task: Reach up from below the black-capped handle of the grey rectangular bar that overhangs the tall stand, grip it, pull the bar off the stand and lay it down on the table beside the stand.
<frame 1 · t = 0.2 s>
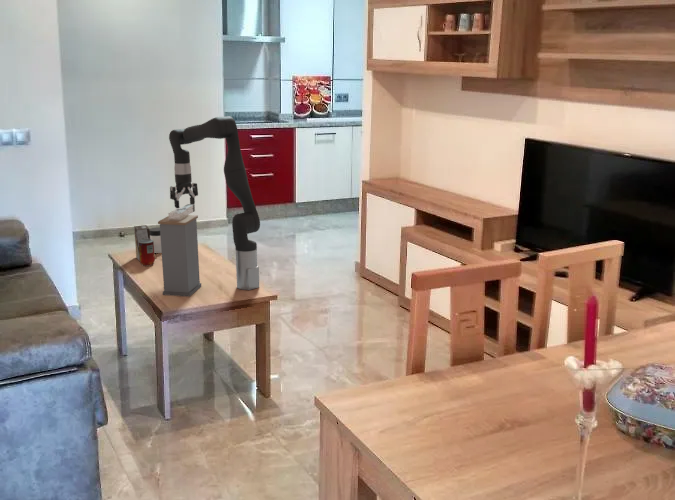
hand: (184, 206, 339), 29 cm above the table, tool pointing down, fingers open, 8 cm apart
stand: (182, 290, 312), on the table
coffee box: (143, 259, 360), on the table
grey rectangular bar: (178, 218, 303), point 32 cm above the table, touching stand
soda can: (147, 264, 351), on the table
jar: (158, 252, 372), on the table
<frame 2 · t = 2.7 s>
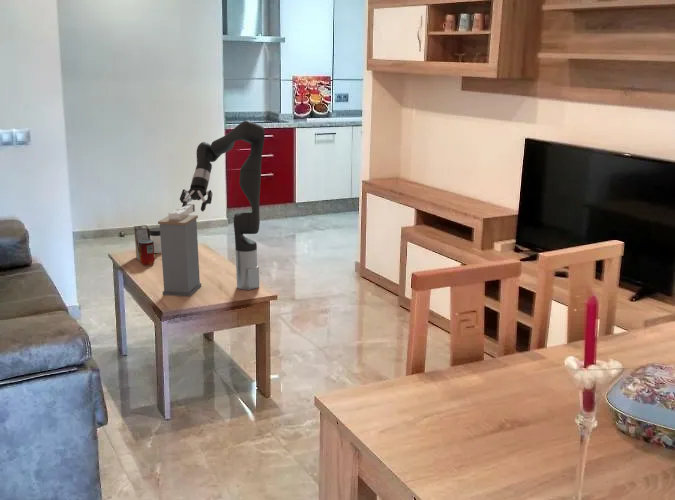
hand: (192, 210, 325), 31 cm above the table, tool tilted 45°, fingers open, 8 cm apart
nothing on the table moved.
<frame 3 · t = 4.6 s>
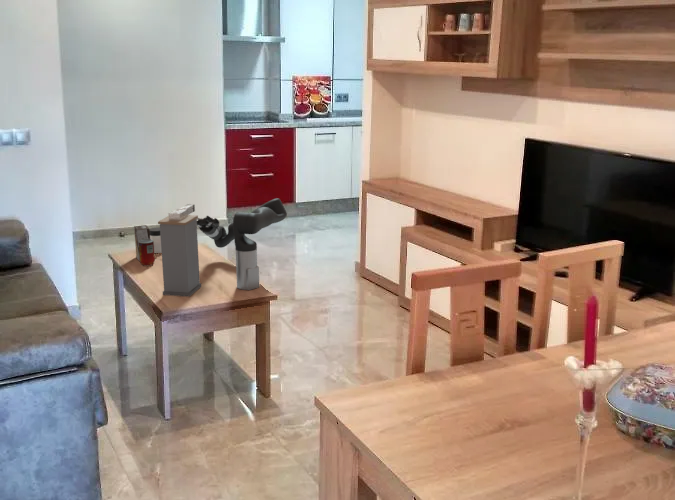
hand: (197, 217, 326), 27 cm above the table, tool pointing upward, fingers open, 8 cm apart
nothing on the table moved.
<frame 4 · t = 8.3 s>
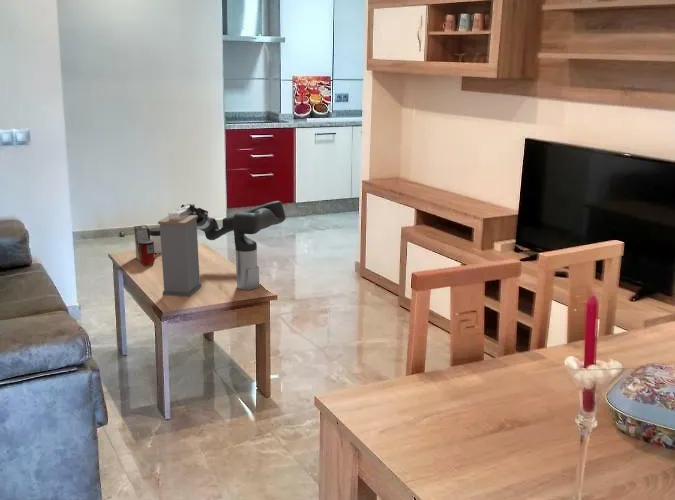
hand: (186, 207, 312), 35 cm above the table, tool pointing upward, fingers closed on grey rectangular bar, 3 cm apart
grey rectangular bar: (178, 218, 303), point 32 cm above the table, touching gripper, stand
everything else where it was.
when the fingers open (12 cm above the table, at t = 18.7 s): grey rectangular bar drops 5 cm, on the table.
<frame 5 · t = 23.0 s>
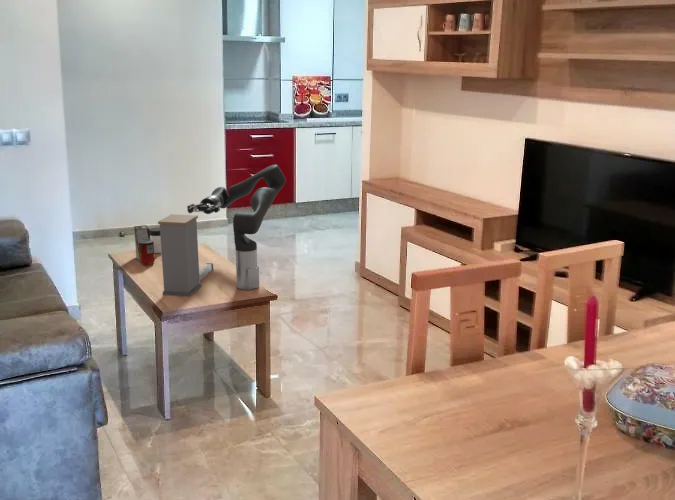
hand: (198, 211, 326), 30 cm above the table, tool horizontal, fingers open, 8 cm apart
grey rectangular bar: (197, 278, 328), on the table
everything else where it was.
at the end: grey rectangular bar touching table; grey rectangular bar on the table; grey rectangular bar moved 36.5 cm from its start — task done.
